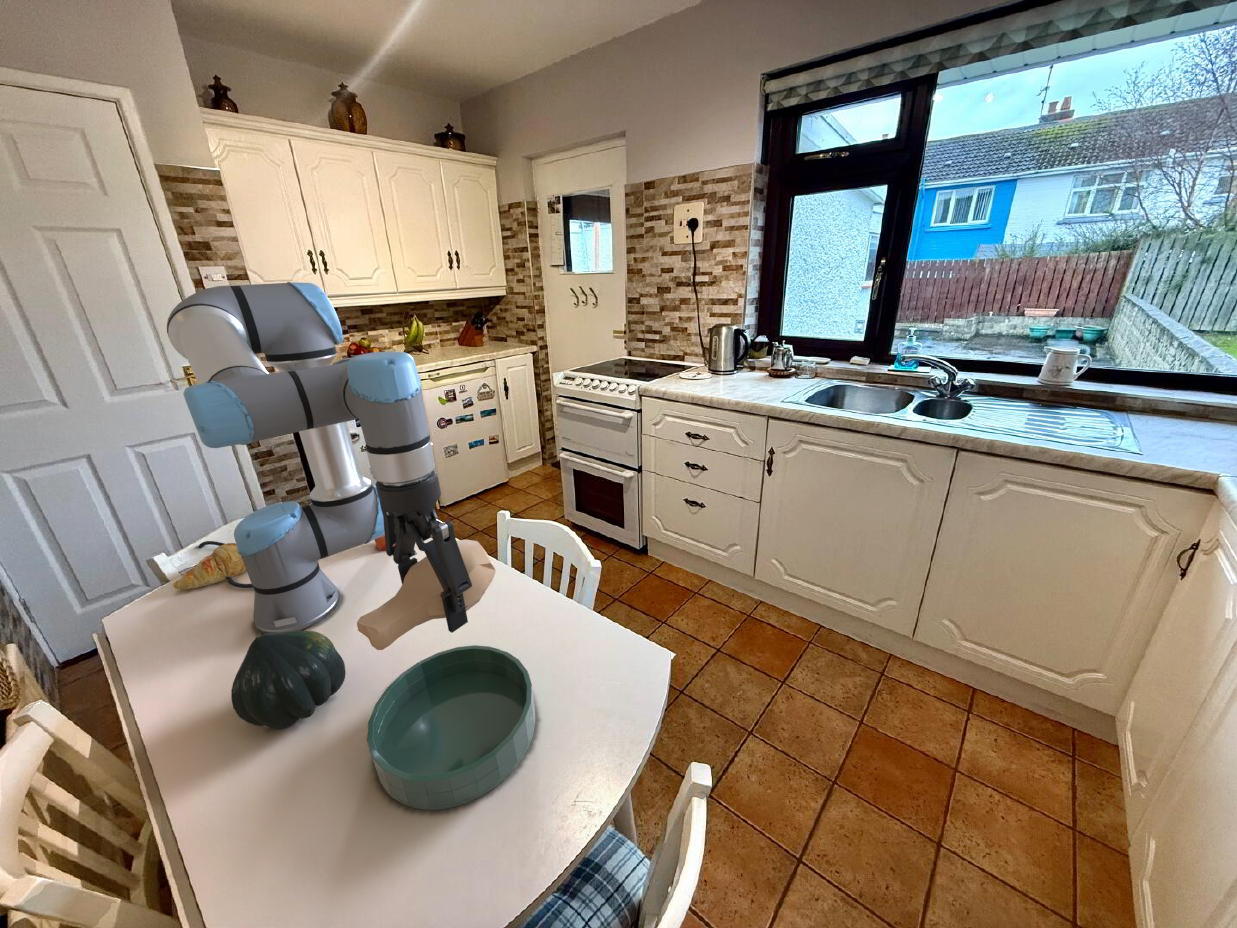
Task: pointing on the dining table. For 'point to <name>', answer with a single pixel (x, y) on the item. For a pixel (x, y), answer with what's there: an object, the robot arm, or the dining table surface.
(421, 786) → the bowl
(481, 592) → the squash
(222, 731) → the dining table surface
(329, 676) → the squash
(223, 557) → the croissant
